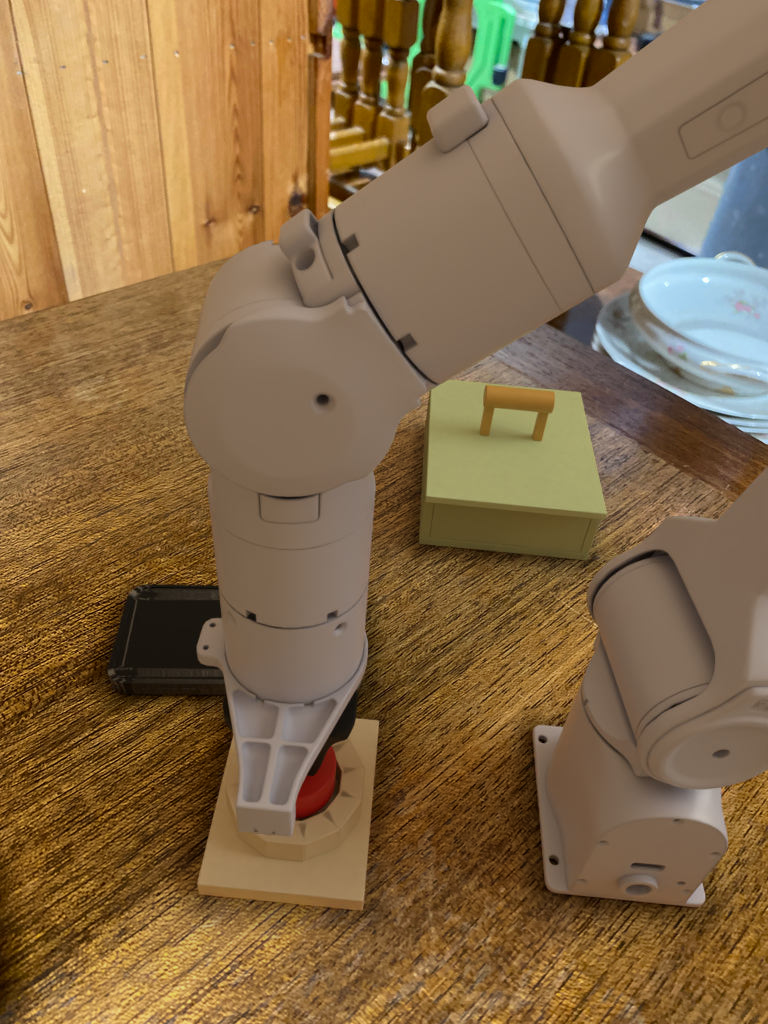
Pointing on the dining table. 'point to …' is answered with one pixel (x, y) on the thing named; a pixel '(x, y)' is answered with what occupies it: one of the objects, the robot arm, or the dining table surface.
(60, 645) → the dining table surface
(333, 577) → the robot arm
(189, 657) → the phone
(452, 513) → the compartment
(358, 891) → the block
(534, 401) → the compartment door
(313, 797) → the release button
